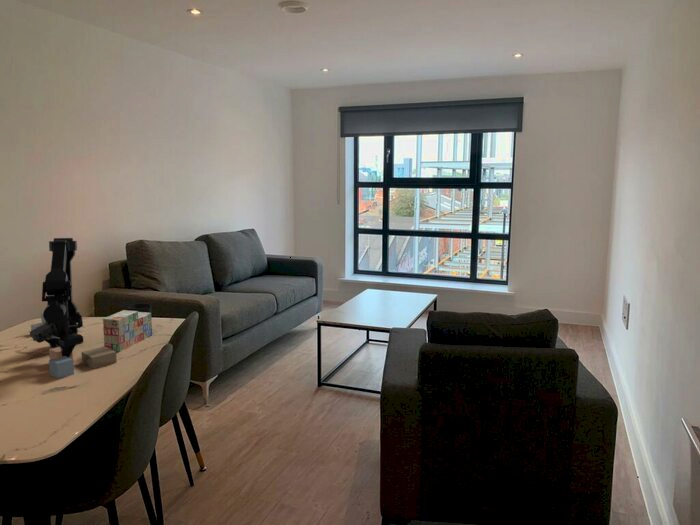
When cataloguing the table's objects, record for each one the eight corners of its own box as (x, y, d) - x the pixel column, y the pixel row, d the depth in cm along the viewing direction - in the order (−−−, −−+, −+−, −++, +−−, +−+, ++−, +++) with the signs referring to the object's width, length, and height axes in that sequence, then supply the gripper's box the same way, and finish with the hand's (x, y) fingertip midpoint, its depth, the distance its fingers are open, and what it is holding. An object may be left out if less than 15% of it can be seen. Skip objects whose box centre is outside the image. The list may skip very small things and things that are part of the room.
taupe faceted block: (82, 363, 175) (81, 351, 174) (105, 357, 181) (105, 346, 180) (92, 369, 170) (92, 357, 169) (116, 363, 176) (116, 352, 175)
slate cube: (49, 375, 163) (48, 360, 163) (65, 370, 167) (64, 355, 167) (58, 378, 161) (56, 363, 160) (74, 374, 165) (73, 359, 164)
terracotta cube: (50, 363, 173) (49, 349, 172) (65, 359, 177) (64, 345, 176) (57, 366, 170) (56, 352, 169) (72, 362, 174) (72, 348, 174)
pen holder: (157, 328, 215) (156, 305, 213) (137, 334, 207) (136, 310, 205) (142, 324, 220) (141, 302, 218) (122, 330, 212) (121, 306, 210)
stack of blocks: (138, 334, 208) (137, 304, 206) (152, 335, 207) (151, 305, 205) (104, 351, 187) (102, 318, 185) (119, 352, 186) (118, 319, 184)
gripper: (18, 315, 169) (22, 360, 172) (47, 325, 159) (50, 373, 162) (53, 308, 179) (56, 351, 181) (83, 318, 168) (85, 363, 171)
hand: (61, 360), depth 173 cm, fingers closed on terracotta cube, 5 cm apart
